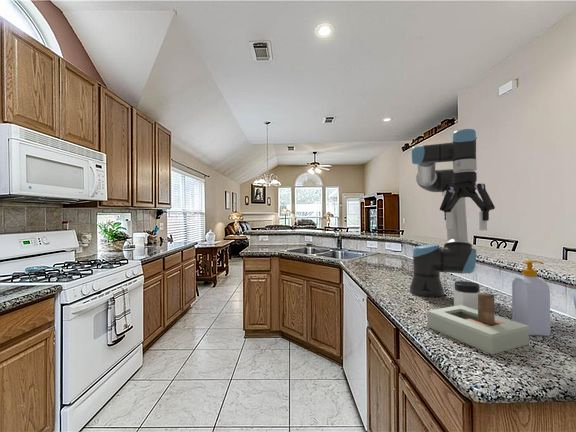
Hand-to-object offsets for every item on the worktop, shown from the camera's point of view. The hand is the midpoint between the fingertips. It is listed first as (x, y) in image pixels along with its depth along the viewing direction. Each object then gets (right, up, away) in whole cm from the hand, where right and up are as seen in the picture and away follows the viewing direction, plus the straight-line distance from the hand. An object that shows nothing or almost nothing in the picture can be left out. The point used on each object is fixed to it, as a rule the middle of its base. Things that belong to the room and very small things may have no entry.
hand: (465, 229), depth 110 cm
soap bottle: (+14, -33, -13) cm, 38 cm away
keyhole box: (-6, -33, -15) cm, 37 cm away
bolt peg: (-5, -33, -19) cm, 38 cm away
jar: (+3, -33, +3) cm, 33 cm away
